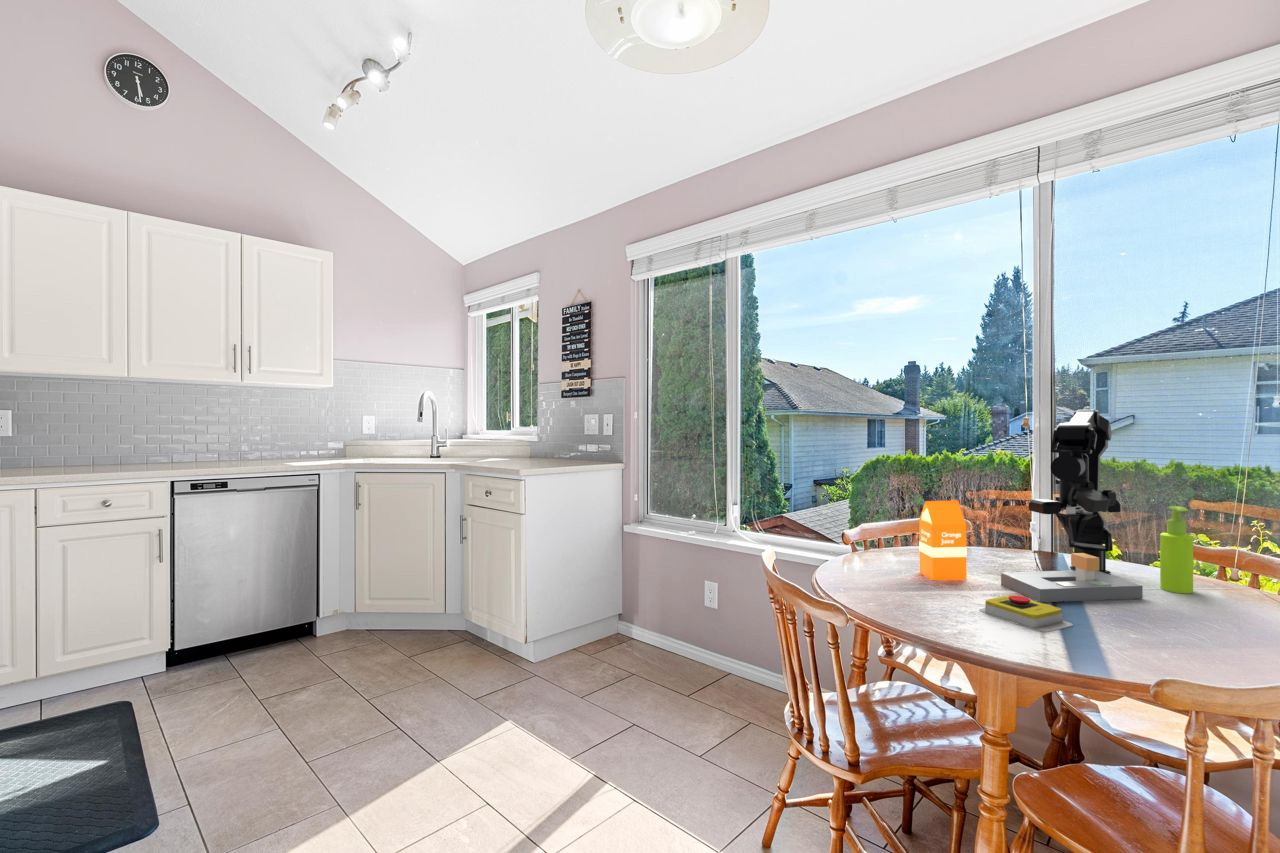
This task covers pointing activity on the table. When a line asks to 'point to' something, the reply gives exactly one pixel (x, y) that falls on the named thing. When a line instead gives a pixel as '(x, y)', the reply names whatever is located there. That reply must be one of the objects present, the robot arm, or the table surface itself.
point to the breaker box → (1070, 586)
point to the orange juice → (942, 541)
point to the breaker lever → (1084, 566)
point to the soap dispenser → (1176, 555)
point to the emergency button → (1026, 613)
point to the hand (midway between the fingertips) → (1073, 541)
